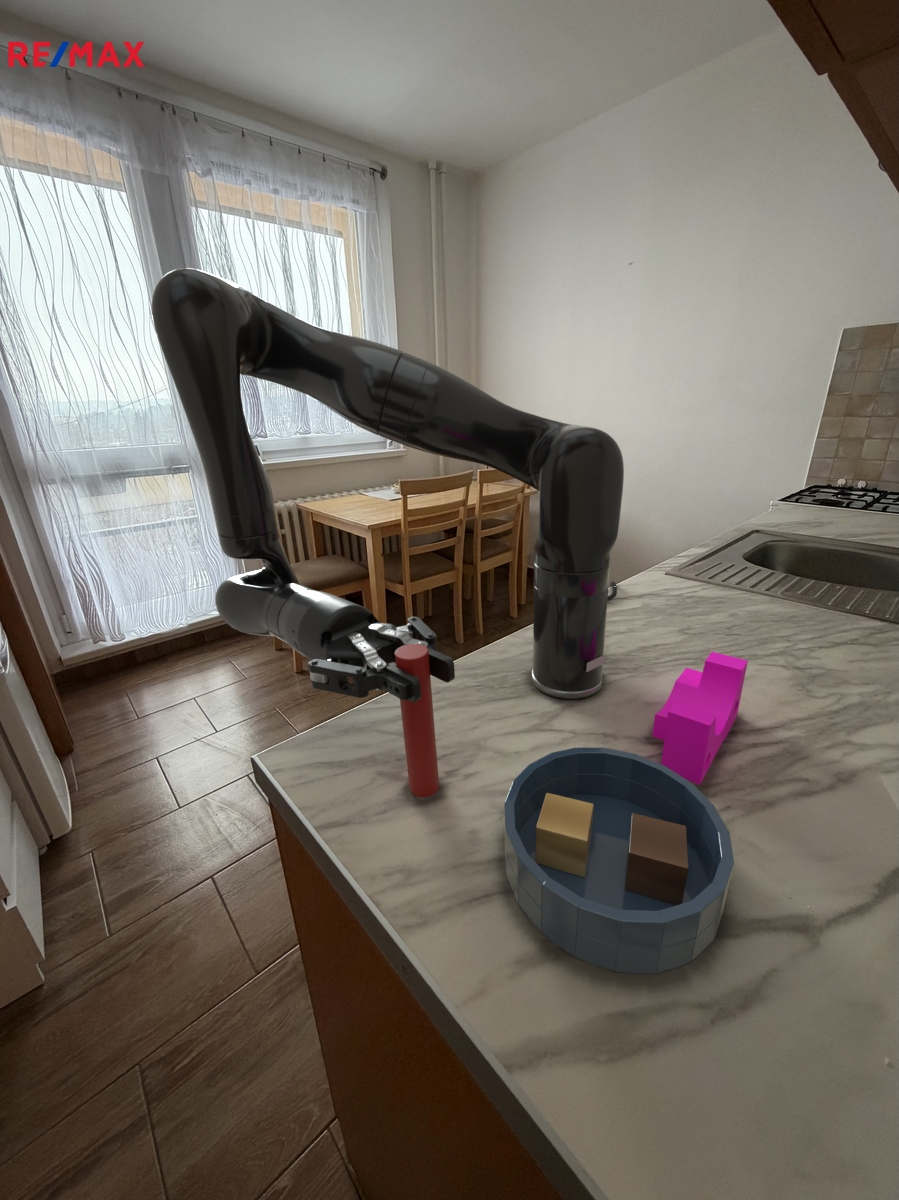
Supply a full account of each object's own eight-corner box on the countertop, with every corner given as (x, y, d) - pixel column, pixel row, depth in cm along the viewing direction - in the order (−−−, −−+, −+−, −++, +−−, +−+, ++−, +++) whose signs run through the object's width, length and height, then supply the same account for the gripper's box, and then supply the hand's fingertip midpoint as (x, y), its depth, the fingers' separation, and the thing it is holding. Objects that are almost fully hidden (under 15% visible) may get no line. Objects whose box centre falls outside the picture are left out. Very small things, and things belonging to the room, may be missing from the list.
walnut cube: (627, 848, 41) (632, 812, 39) (679, 862, 39) (686, 825, 38) (624, 890, 37) (629, 852, 36) (681, 907, 36) (688, 868, 34)
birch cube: (545, 826, 43) (546, 791, 42) (591, 838, 42) (593, 803, 40) (535, 863, 40) (535, 827, 38) (584, 878, 38) (587, 841, 37)
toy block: (681, 698, 61) (689, 645, 59) (737, 715, 57) (747, 660, 55) (635, 762, 51) (642, 702, 48) (699, 789, 47) (710, 725, 44)
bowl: (530, 777, 50) (531, 732, 48) (711, 819, 44) (720, 770, 42) (478, 928, 36) (476, 874, 34) (733, 1021, 30) (749, 963, 28)
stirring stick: (417, 777, 51) (404, 641, 45) (444, 783, 50) (433, 645, 44) (404, 797, 48) (388, 656, 42) (432, 804, 47) (419, 661, 41)
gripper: (259, 619, 47) (364, 677, 36) (374, 579, 56) (487, 615, 45) (274, 685, 50) (375, 758, 39) (381, 637, 59) (489, 684, 48)
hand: (434, 680), depth 42 cm, fingers open, 3 cm apart
